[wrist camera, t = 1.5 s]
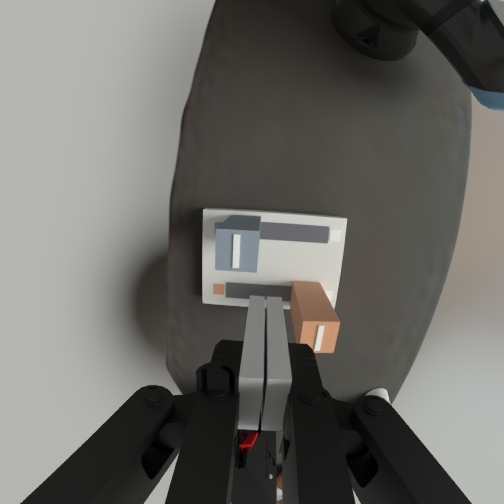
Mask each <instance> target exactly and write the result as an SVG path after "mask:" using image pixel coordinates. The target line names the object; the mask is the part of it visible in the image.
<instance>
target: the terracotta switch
mask: <svg viewBox="0 0 504 504" xmlns="http://www.w3.org/2000/svg"><path fill="white" fill-rule="evenodd" d="M290 310H291V315H292V321H293V326H294V332H295V337H296V343H303V344H308V345H309V346H310V347H311V348H312V349H313V351H314V353H333V352H334V348H335V343H336V339H337V335H338V330H339V325H340V320H339V318H338V316H337V314H336V313H335V311H334V309H333V307H332V305H331V303H330V301H329V299H328V297H327V295H326V293H325V291H324V289H323V288H322V286H321V284H320V282H300V281H293V282H292V291H291V300H290Z"/></svg>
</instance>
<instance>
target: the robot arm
mask: <svg viewBox="0 0 504 504" xmlns="http://www.w3.org/2000/svg"><path fill="white" fill-rule="evenodd" d="M332 20H333V23H334V25H335V27H336V29H337V31H338V32H339V33H340V35H341V36H342V37H343V38H344V39H345V40H346V41H347V42H348V43H349V44H351V45H352V46H353V47H355V48H356V49H358V50H359V51H361V52H363V53H364V54H367V55H369V56H371V57H374V58H377V59H381V60H389V61H392V60H399V59H401V58H403V57H405V56H406V55H407V54H409V53H410V52H411V51H412V50H413V48H414V47H415V44H416V40H417V36H418V33H419V31H420V30H421V31H422V32H423V33H424V34H425V35H426V36H427V37H428V38H429V39H430V40H431V41H432V43H433V44H434V45H435V46H436V47H437V48H438V49H439V51H440V52H441V53H442V54H443V55H444V56H445V58H446V59H447V60H448V61H449V63H450V64H451V65H452V66H453V68H454V69H455V70H456V72H457V73H458V74H459V76H460V77H461V78H462V81H463V83H464V84H465V85H466V86H467V87H469V89H470V90H471V91H472V93H473V94H474V96H475V97H476V98H477V100H478V101H479V102H480V103H481V104H482V105H484V106H486V107H487V108H489V109H493V110H502V111H504V2H502V1H500V0H485V1H483V2H482V1H480V0H337V1H336V2H335V5H334V7H333V10H332ZM264 320H265V328H264ZM196 379H197V391H196V392H193V393H191V394H185V395H172V393H171V392H170V391H169V390H168V389H166V388H164V387H162V386H157V385H148V386H145V387H142V388H140V389H139V390H137V391H136V392H135V393H134V394H133V395H132V396H131V397H130V398H129V399H128V400H127V401H126V402H125V403H124V404H123V405H122V406H121V407H120V408H119V409H118V410H117V411H116V412H115V413H114V414H113V415H112V416H111V417H110V418H109V419H108V420H107V421H106V422H105V423H104V424H103V425H102V426H101V427H100V428H99V429H98V430H97V431H96V432H95V433H94V434H93V435H92V436H91V437H90V438H89V439H88V440H87V441H86V442H85V443H84V444H83V445H81V447H80V448H78V449H77V450H76V451H75V452H74V453H73V454H72V455H71V456H70V457H69V458H68V459H67V460H66V461H65V462H64V463H63V464H62V465H61V466H60V467H59V468H58V469H57V470H56V471H55V472H54V473H52V474H51V475H50V476H49V477H48V478H47V479H46V480H45V481H44V482H43V483H42V484H41V485H40V486H39V487H38V488H37V489H35V490H34V491H33V492H32V493H31V494H30V495H29V496H28V497H27V498H26V499H25V500H24V501H23V502H22V503H20V504H144V502H145V501H146V499H147V498H148V496H149V495H150V494H151V492H152V491H153V490H154V488H155V487H156V485H157V484H158V483H159V481H160V479H161V478H162V477H163V475H164V474H165V472H166V471H167V469H168V468H169V467H170V465H171V464H172V462H173V461H174V459H175V458H176V456H177V455H178V453H179V456H178V459H177V462H176V466H175V469H174V473H173V477H172V480H171V483H170V487H169V491H168V494H167V498H166V501H165V504H230V501H231V492H232V482H233V473H234V464H235V454H236V444H237V430H238V429H247V430H258V425H259V416H260V408H261V399H262V420H261V430H265V431H282V427H283V438H282V442H281V446H280V451H279V453H282V492H283V504H355V499H354V494H353V490H354V492H355V494H356V496H357V497H358V499H359V501H360V503H361V504H472V503H471V502H470V501H469V500H468V498H467V497H466V496H465V495H464V493H463V492H462V491H461V490H460V488H459V487H458V486H457V485H456V484H455V482H454V481H453V480H452V479H451V477H450V476H449V475H448V474H447V472H446V471H445V470H444V469H443V468H442V466H441V465H440V464H439V463H438V461H437V460H436V459H435V458H434V457H433V455H432V454H431V453H430V452H429V450H428V449H427V448H426V447H425V446H424V444H423V443H422V442H421V441H420V440H419V438H418V437H417V436H416V435H415V434H414V432H413V431H412V430H411V429H410V427H409V426H408V425H407V424H406V423H405V421H404V420H403V419H402V418H401V417H400V415H399V414H398V413H397V412H396V411H395V409H394V408H393V407H392V406H391V405H390V403H389V402H388V401H386V400H385V399H384V398H382V397H379V396H376V395H365V396H362V397H360V398H358V399H357V401H356V402H355V404H354V403H347V402H342V401H338V400H335V399H333V398H331V396H330V394H329V392H328V391H327V390H325V389H324V388H323V386H322V382H321V378H320V374H319V370H318V366H317V362H316V359H315V355H314V351H313V349H312V348H311V347H310V346H309V345H308V344H303V343H288V342H287V334H286V327H285V319H284V312H283V304H282V297H268V296H267V303H266V316H265V296H252V295H250V300H249V308H248V315H247V322H246V330H245V337H244V341H232V340H221V341H220V342H219V343H218V344H217V345H216V346H215V349H214V352H213V355H212V359H211V362H210V363H207V364H204V365H202V366H201V367H199V368H198V370H197V371H196ZM352 488H353V489H352Z"/></svg>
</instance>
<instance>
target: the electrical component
mask: <svg viewBox="0 0 504 504" xmlns="http://www.w3.org/2000/svg"><path fill="white" fill-rule="evenodd" d="M261 420H262V414H261V412H260V416H259V425H258V430H247V429H238V430H237V444H236V454H235V464H234V473H233V482H232V492H231V501H230V504H277V499H276V497H277V492H276V431H265V430H261Z"/></svg>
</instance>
